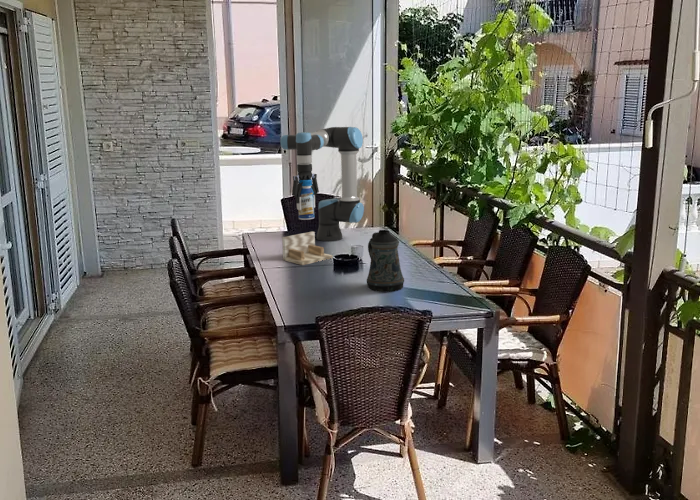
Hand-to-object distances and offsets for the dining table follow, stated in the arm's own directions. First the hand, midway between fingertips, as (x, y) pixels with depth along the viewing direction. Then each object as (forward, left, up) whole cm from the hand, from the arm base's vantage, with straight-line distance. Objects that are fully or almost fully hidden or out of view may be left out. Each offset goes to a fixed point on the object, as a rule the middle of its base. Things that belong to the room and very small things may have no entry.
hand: (306, 208), depth 349 cm
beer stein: (+10, +64, -27) cm, 70 cm away
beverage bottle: (0, 0, -6) cm, 6 cm away
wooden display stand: (0, 0, -27) cm, 27 cm away
